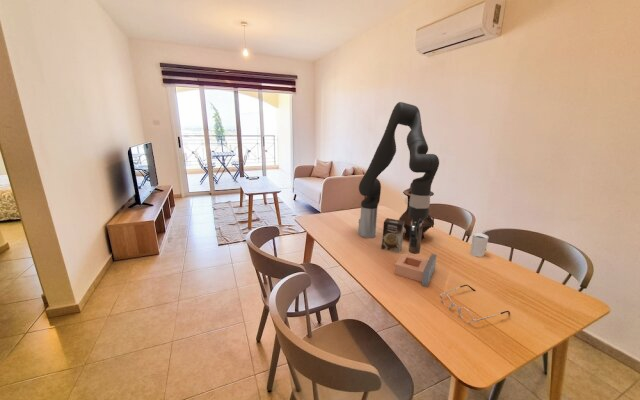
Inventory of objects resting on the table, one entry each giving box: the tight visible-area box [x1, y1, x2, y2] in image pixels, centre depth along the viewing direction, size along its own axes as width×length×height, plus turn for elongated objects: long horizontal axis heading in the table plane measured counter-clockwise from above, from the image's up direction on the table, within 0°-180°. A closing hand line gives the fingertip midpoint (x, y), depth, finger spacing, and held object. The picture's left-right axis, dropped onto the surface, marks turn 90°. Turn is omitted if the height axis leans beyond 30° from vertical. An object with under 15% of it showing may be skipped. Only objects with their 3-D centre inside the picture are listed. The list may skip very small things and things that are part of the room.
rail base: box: [421, 253, 437, 288], centre depth 112 cm, size 24×16×8 cm, turn 57°
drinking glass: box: [470, 232, 489, 258], centre depth 129 cm, size 7×7×10 cm
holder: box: [393, 253, 429, 283], centre depth 111 cm, size 11×11×4 cm
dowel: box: [408, 225, 423, 255], centre depth 107 cm, size 4×4×12 cm
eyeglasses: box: [439, 284, 511, 324], centre depth 91 cm, size 16×19×5 cm
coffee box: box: [381, 217, 405, 253], centre depth 131 cm, size 9×6×16 cm
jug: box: [398, 182, 435, 241], centre depth 146 cm, size 21×18×30 cm
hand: (414, 244), depth 108 cm, fingers closed on dowel, 4 cm apart
